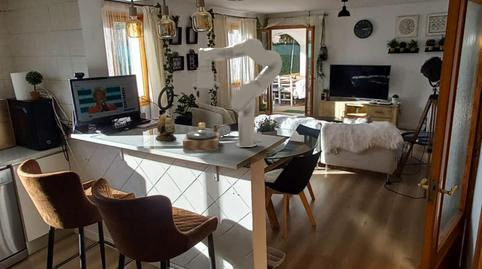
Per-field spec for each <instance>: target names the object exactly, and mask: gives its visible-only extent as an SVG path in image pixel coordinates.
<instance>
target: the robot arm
mask: <svg viewBox="0 0 482 269" xmlns="http://www.w3.org/2000/svg"><path fill="white" fill-rule="evenodd" d="M243 57H248V58H250V59H251V60H253V61H254V62H256V63H257V65H259V66H262V67H265V68H263V70H261V71H260V72H259V73H258V75H257V77H255V79H253V80H248V81H246V82H245V83H244V84H243V85H242V86H241V87H240V88H239V90H238V91H237V92H236V93H235V94H234V96H233V97H232V99H231V103H230V105H231V108H232V110H234V111H235V112H238V116H237V117H238V118H237V122H238V124H237V125H238V126H237V127H238V142H236V144H235V145H237V146H249V145H253V144H256V143H257V144H262V143H263V139H260V138H258V139H256V138H255V112H256V111H255V110H256V98H257V97H260V96H262V95H263V94H264V93H265V92H266V90H267V89H269V87H270V86H271V84H272V83H273V82H274V81H275V80H276V78H277V77H278V76H279V74H280V72H281V71H282V67H283V59H282V57H281V54H280V53H279V52H278V51H275V50H269V49H268V50H267V49H265V48H264V47H263V43H262V42H261V40H260V39H258V38H246V39H244V40H243V41H238V42H234V43H233V44H232V45H230V46H225V47H210V48H199V49H198V67H196V70H197V81H195V82H193V83H192V84H191V86H192V87H193V89H194V91H196V97H197V98H198V99H199V98H200V90H201V89H212V90H213V91H212V92H213V98H215V97H216V96H217V90H218V89H219V87H220V85H221V83H220V82H218V81H215V76H214V71H213V70H212V69H213V68H212V62H218V61H219V62H220V61H221V62H222V61H228V60H232V59H238V58H243ZM196 85H197V87H196ZM215 85H216V87H215ZM237 146H236V147H237Z"/></svg>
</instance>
